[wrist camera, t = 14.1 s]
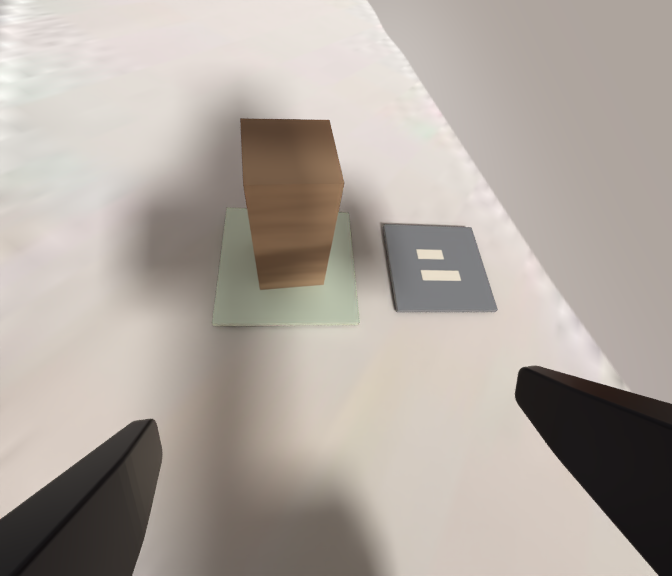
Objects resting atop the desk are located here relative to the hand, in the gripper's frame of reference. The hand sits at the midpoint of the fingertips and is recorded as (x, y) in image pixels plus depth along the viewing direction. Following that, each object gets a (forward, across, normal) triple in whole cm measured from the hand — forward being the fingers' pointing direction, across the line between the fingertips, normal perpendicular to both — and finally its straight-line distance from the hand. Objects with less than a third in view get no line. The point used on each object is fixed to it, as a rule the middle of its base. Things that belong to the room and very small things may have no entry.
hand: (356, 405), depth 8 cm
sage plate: (+18, 0, 0) cm, 18 cm away
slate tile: (+17, -12, +1) cm, 21 cm away
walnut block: (+18, 0, 0) cm, 18 cm away
